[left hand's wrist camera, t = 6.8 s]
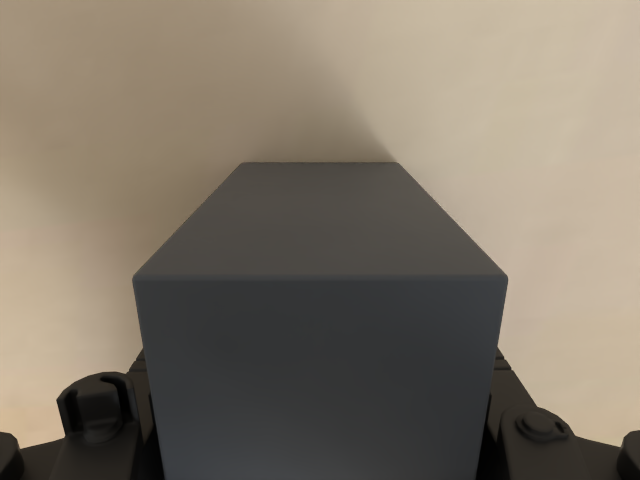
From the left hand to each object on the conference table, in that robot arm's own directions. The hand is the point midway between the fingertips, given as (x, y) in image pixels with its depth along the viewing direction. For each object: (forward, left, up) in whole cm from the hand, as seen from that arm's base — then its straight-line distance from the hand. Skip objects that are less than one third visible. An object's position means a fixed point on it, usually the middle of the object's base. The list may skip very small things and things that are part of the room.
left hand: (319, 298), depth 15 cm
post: (+14, +15, -1) cm, 21 cm away
